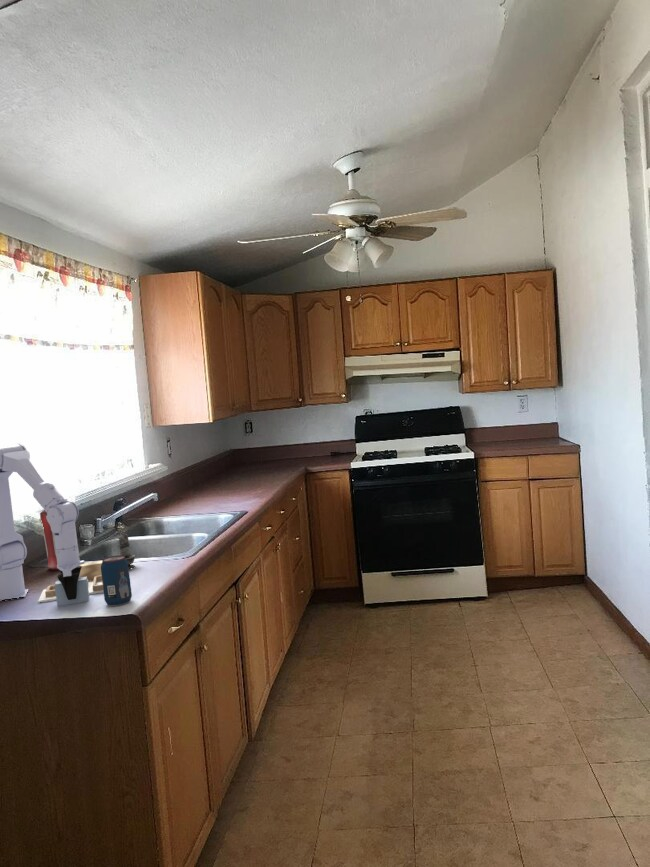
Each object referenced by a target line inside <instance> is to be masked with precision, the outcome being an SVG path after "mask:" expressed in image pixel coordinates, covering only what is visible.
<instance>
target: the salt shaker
mask: <svg viewBox="0 0 650 867" xmlns="http://www.w3.org/2000/svg"><path fill="white" fill-rule="evenodd" d="M118 541H119V542H118V544H119V545H118V547H119V552H120V553H119V555H122V556H125V559H126V560H127V562H128V568H129V570H132V569H131V568H133V569H135V568H136V565H134V564H133V563H134V561H135V557H136V555H135V554H132V552H131V549H130V545H131V544H130V543H129V536H128V534H127V533H125V532H124V530H122V531H121V533H120V534H119V535H118ZM134 567H135V568H134Z"/></svg>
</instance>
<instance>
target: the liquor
mask: <svg viewBox="0 0 650 867" xmlns="http://www.w3.org/2000/svg"><path fill="white" fill-rule="evenodd" d="M39 516H40V521H41V520H42V523H43V527H44V534H43V538H44V543H45V550H46V557H47V562H48V564H47V566H46V567H48V568H49V569H50V570H51V571H56V570H57V571H58V570H59V569H58V568H57V557H56V549H55V541H54V533H53V532H52V531H51V527H50V524H49V523H48V521H47V518H46V516H47V512H46V511H45V510H44V509H43V510H42V511H41V512H40V513H39ZM42 523H41V524H42ZM59 571H60V570H59Z"/></svg>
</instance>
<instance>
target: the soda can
mask: <svg viewBox="0 0 650 867" xmlns="http://www.w3.org/2000/svg"><path fill="white" fill-rule="evenodd" d="M101 561H102V564H101V574H102V583H103V591H104V592H103V598H104V602H105V604H107V606H108V607H117V606H119V605H120V606H123V604H124V605H126V603H127V604H128V602H129V601H130V602H131V600H132V597H133V593H132V585H131V584H132V583H131V578H130V569H129V568H128V562H127V560H126V559H125V556H122V555H120V554H119V555H111V556H108V557H104V558H102V560H101ZM130 602H129V603H130ZM120 606H119V607H120Z"/></svg>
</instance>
